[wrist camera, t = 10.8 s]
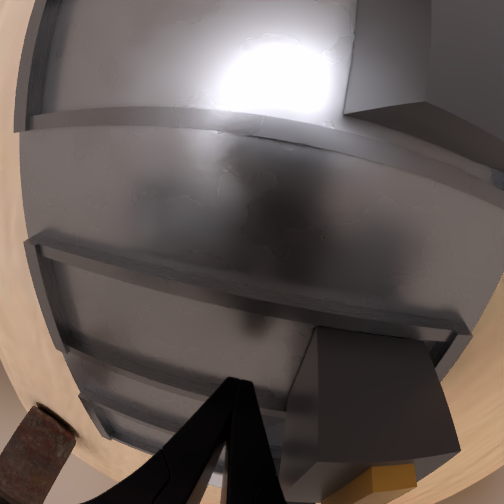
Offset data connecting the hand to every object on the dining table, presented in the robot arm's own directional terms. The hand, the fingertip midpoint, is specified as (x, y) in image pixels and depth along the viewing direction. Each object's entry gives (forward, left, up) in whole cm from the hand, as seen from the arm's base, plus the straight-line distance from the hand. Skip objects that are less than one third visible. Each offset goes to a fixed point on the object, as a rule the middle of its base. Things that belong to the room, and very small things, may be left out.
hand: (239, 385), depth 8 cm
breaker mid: (-4, 0, -1) cm, 4 cm away
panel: (+1, 0, -4) cm, 4 cm away
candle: (+22, +26, -4) cm, 34 cm away
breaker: (-3, -10, -1) cm, 11 cm away
